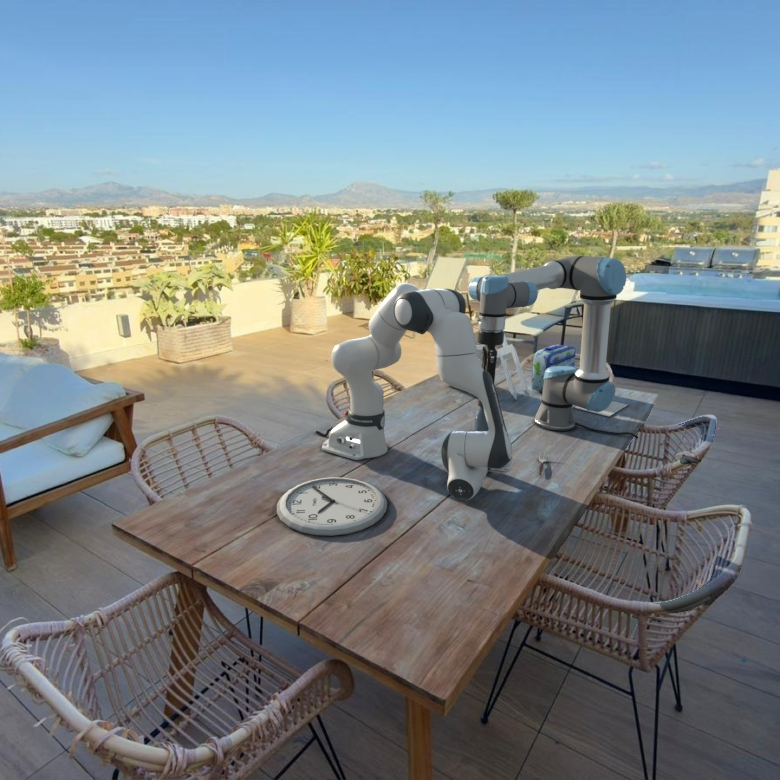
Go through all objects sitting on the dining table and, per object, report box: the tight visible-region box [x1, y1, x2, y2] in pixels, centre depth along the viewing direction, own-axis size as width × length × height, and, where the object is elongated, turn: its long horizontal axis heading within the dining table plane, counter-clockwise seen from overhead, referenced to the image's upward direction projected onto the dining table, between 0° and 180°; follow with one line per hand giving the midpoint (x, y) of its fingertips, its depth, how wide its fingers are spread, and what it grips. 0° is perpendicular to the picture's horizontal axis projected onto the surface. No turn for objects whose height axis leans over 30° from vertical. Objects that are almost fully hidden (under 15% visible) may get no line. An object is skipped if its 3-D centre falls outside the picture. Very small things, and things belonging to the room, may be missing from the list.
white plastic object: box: [440, 330, 531, 400], centre depth 245 cm, size 37×45×31 cm
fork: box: [538, 451, 548, 475], centre depth 168 cm, size 3×16×2 cm, turn 160°
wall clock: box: [276, 476, 388, 537], centre depth 142 cm, size 30×2×30 cm
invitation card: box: [573, 400, 629, 418], centre depth 226 cm, size 21×1×15 cm
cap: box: [477, 397, 482, 408], centre depth 159 cm, size 4×5×2 cm
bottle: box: [474, 406, 490, 473], centre depth 162 cm, size 6×6×23 cm
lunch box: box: [530, 344, 577, 392], centre depth 247 cm, size 26×11×21 cm, turn 134°
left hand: (482, 448), depth 164 cm, fingers closed on bottle, 5 cm apart
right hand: (485, 405), depth 159 cm, fingers closed on cap, 5 cm apart
